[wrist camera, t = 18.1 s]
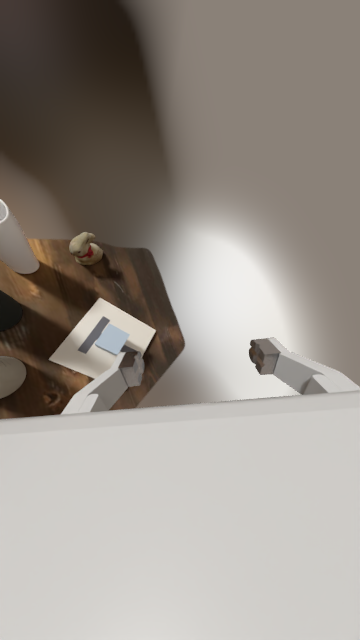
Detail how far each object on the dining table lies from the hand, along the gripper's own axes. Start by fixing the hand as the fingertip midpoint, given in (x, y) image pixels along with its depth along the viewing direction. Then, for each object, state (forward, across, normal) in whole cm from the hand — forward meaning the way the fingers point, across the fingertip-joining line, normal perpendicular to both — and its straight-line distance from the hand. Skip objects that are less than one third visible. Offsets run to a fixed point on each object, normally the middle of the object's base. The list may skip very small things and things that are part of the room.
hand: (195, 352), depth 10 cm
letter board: (+23, +21, +14) cm, 34 cm away
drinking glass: (+28, +37, -7) cm, 47 cm away
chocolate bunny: (+36, +26, -7) cm, 45 cm away
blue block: (+22, +21, +13) cm, 33 cm away
